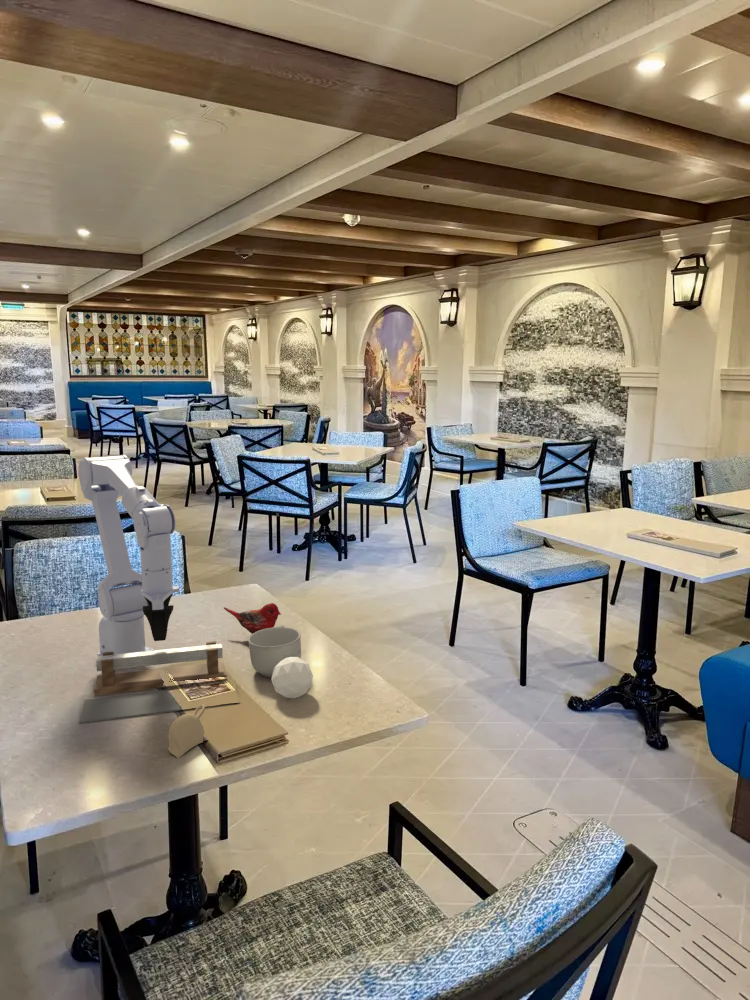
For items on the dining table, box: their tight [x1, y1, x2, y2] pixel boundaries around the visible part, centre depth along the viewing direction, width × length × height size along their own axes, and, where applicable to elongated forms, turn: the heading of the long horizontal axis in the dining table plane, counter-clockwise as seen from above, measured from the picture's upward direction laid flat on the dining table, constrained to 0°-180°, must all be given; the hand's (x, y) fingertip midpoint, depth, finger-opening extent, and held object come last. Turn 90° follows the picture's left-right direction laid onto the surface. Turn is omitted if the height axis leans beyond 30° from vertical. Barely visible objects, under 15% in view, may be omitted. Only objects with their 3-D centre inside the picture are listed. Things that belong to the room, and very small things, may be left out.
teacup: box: [247, 624, 302, 678], centre depth 145 cm, size 14×11×8 cm
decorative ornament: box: [167, 704, 206, 759], centre depth 115 cm, size 4×8×5 cm, turn 145°
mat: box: [78, 689, 181, 724], centre depth 130 cm, size 28×9×1 cm, turn 107°
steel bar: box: [95, 643, 223, 672], centre depth 139 cm, size 24×2×2 cm, turn 107°
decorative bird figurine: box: [223, 602, 282, 635], centre depth 161 cm, size 3×18×10 cm, turn 58°
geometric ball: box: [271, 657, 314, 699], centre depth 133 cm, size 8×8×8 cm
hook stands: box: [93, 640, 227, 696], centre depth 139 cm, size 25×7×6 cm, turn 107°
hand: (159, 633), depth 138 cm, fingers open, 7 cm apart
